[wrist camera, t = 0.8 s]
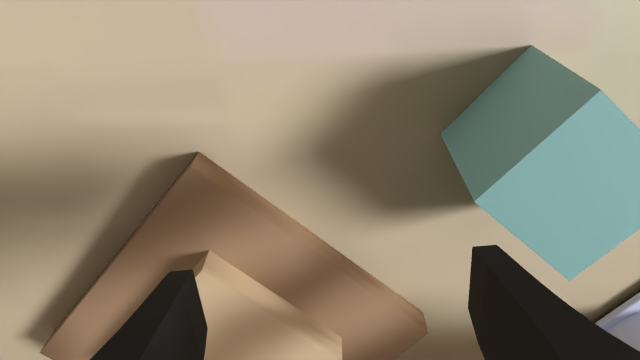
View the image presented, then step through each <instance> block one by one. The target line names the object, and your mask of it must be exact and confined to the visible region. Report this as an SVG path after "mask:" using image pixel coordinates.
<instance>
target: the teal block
mask: <svg viewBox="0 0 640 360" xmlns="http://www.w3.org/2000/svg"><path fill="white" fill-rule="evenodd" d="M440 135H441V137H442V139H443V141H444V143H445V145H446V147H447V149H448V151H449V153H450V155H451V157H452V159H453V161H454V163H455V165H456V167H457V168H458V170H459V172H460V174H461V176H462V178H463V180H464V182H465V184H466V186H467V188H468V190H469V192H470V194H471V196H472V198H473V200H474V202H475V203H476V204H478V205H479V206H480V207H481V208H482V209H484V210H485V211H486V212H487V213H488V214H490V215H491V216H492V217H493V218H494V219H496V220H497V221H498V222H499V223H500V224H502V225H503V226H504V227H505V228H506V229H508V230H509V231H510V232H511V233H512V234H514V235H515V236H516V237H517V238H518V239H520V240H521V241H522V242H523V243H524V244H526V245H527V246H528V247H529V248H530V249H532V250H533V251H534V252H535V253H536V254H538V255H539V256H540V257H541V258H542V259H544V260H545V261H546V262H547V263H548V264H550V265H551V266H552V267H553V268H554V269H556V270H557V271H558V272H559V273H560V274H562V275H563V276H564V277H565V278H566V279H568V280H569V281H570V280H571V279H573V278H574V277H575V276H577V275H578V274H579V273H581V272H582V271H583V270H585V269H586V268H588V267H589V266H590V265H592V264H593V263H594V262H596V261H597V260H598V259H600V258H601V257H602V256H604V255H605V254H606V253H608V252H609V251H610V250H612V249H613V248H614V247H616V246H617V245H619V244H620V243H621V242H623V241H624V240H625V239H627V238H628V237H629V236H631V235H632V234H633V233H635V232H636V231H637V230H639V229H640V129H639V128H638V127H637V126H636V125H635V124H634V123H633V122H632V121H631V120H630V119H629V118H628V117H627V116H626V115H625V114H624V113H623V112H622V111H621V110H620V109H619V108H618V107H617V106H616V105H615V104H614V103H613V102H612V101H611V100H610V99H609V98H608V96H607V95H606V94H605V93H604V92H603V91H602V90H600V89H599V88H597V87H596V86H594V85H593V84H591V83H590V82H588V81H586V80H585V79H583V78H582V77H580V76H579V75H577V74H576V73H574V72H572V71H571V70H569V69H568V68H566V67H565V66H563V65H562V64H560V63H558V62H557V61H555V60H554V59H552V58H551V57H549V56H548V55H546V54H544V53H543V52H541V51H540V50H538V49H537V48H535V47H534V46H532V45H531V46H530V47H529V48H528V49H527V50H526V51H525V52H524V53H523V54H522V55H521V56H520V57H518V58H517V59H516V60H515V61H514V62H513V63H512V64H511V65H510V66H509V67H508V68H507V69H506V70H505V71H504V72H503V73H502V74H501V75H500V76H499V77H498V78H497V79H496V80H495V81H494V82H493V83H492V84H491V85H490V86H489V87H488V88H487V89H486V90H485V91H484V92H483V93H482V94H480V95H479V96H478V97H477V98H476V99H475V100H474V101H473V102H472V103H471V104H470V105H469V106H468V107H467V108H466V109H465V110H464V111H463V112H462V113H461V114H460V115H459V116H458V117H457V118H456V119H455V120H454V121H453V122H452V123H451V124H450V125H449V126H448V127H447V128H446V129H445V130H444V131H443V132H441V133H440Z"/></svg>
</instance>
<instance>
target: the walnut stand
mask: <svg viewBox="0 0 640 360" xmlns="http://www.w3.org/2000/svg"><path fill="white" fill-rule="evenodd" d="M192 269H193V272H194V276H195V280H196V284H197V288H198V292H199V296H200V299H201V303H202V307H203V311H204V315H205V319H206V323H207V327H208V330H207V339H206V348H205V355H204V360H394V359H395V358H397V357H398V356H399V355H400V354H402V353H403V352H404V351H406V350H407V349H408V348H409V347H411V346H412V345H413V344H414V343H416V342H417V341H418V340H419V339H421V338H422V337H423V336H424V335H426V334H427V333H428V332H427V328H426V324H425V320H424V315H423V312H422V311H420V310H419V309H418V308H416V307H415V306H413V305H412V304H411V303H409V302H408V301H406V300H405V299H404V298H402V297H401V296H399V295H398V294H397V293H395V292H394V291H392V290H391V289H390V288H388V287H387V286H386V285H384V284H383V283H381V282H380V281H379V280H377V279H376V278H374V277H373V276H372V275H370V274H369V273H367V272H366V271H365V270H363V269H362V268H360V267H359V266H358V265H356V264H355V263H353V262H352V261H351V260H349V259H348V258H346V257H345V256H344V255H342V254H341V253H339V252H338V251H337V250H335V249H334V248H333V247H331V246H330V245H328V244H327V243H326V242H324V241H323V240H321V239H320V238H319V237H317V236H316V235H314V234H313V233H312V232H310V231H309V230H307V229H306V228H305V227H303V226H302V225H300V224H299V223H298V222H296V221H295V220H293V219H292V218H291V217H289V216H288V215H286V214H285V213H284V212H282V211H281V210H279V209H278V208H277V207H275V206H274V205H273V204H271V203H270V202H268V201H267V200H266V199H264V198H263V197H261V196H260V195H259V194H257V193H256V192H254V191H253V190H252V189H250V188H249V187H247V186H246V185H245V184H243V183H242V182H240V181H239V180H238V179H236V178H235V177H233V176H232V175H231V174H229V173H228V172H226V171H225V170H224V169H222V168H221V167H219V166H218V165H217V164H215V163H214V162H213V161H211V160H210V159H208V158H207V157H206V156H204V155H203V154H201V153H200V152H198V153H197V155H196V156H195V157H194V158H193V160H192V161H191V162H190V163H189V165H188V166H187V167H186V168H185V170H184V171H183V172H182V173H181V175H180V176H179V177H178V178H177V180H176V181H175V182H174V183H173V185H172V186H171V187H170V188H169V190H168V191H167V192H166V193H165V194H164V196H163V197H162V198H161V199H160V201H159V202H158V203H157V204H156V206H155V207H154V208H153V209H152V211H151V212H150V213H149V214H148V216H147V217H146V218H145V219H144V221H143V222H142V223H141V224H140V226H139V227H138V228H137V229H136V230H135V232H134V233H133V234H132V235H131V237H130V238H129V239H128V240H127V242H126V243H125V244H124V245H123V247H122V248H121V249H120V250H119V252H118V253H117V254H116V255H115V257H114V258H113V259H112V260H111V262H110V263H109V264H108V265H107V267H106V268H105V269H104V270H103V271H102V273H101V274H100V275H99V276H98V278H97V279H96V280H95V281H94V283H93V284H92V285H91V286H90V288H89V289H88V290H87V291H86V293H85V294H84V295H83V296H82V298H81V299H80V300H79V301H78V303H77V304H76V305H75V306H74V307H73V309H72V310H71V311H70V312H69V314H68V315H67V316H66V317H65V319H64V320H63V321H62V322H61V324H60V325H59V326H58V327H57V329H56V330H55V331H54V332H53V334H52V335H51V337H50V338H49V340H48V341H47V343H46V344H45V346H44V347H43V349H42V350H41V352H40V353H41V354H43V355H45V356H47V357H49V358H51V359H52V360H90V359H91V358H92V357H93V356H94V355H95V354H96V353H97V352H98V351H99V350H100V349H101V348H102V347H103V345H104V344H105V343H106V342H107V341H108V340H109V339H110V338H111V337H112V336H113V335H114V334H115V333H116V332H117V331H118V330H119V329H120V328H121V327H122V325H123V324H124V323H125V322H126V321H127V320H128V319H129V318H130V317H131V315H132V314H133V313H134V312H135V311H136V310H137V309H138V307H139V306H140V305H141V304H142V303H143V302H144V300H145V299H146V298H147V297H148V296H149V295H150V293H151V292H152V291H153V290H154V289H155V287H156V286H157V285H158V284H159V283H160V282H161V281H162V279H163V278H164V277H165V276H166V275H167V274H168V273H169V271H180V270H192Z"/></svg>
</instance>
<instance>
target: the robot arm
mask: <svg viewBox="0 0 640 360" xmlns="http://www.w3.org/2000/svg"><path fill="white" fill-rule="evenodd" d="M468 309H469V313H470V316H471V320H472V324H473V327H474V330H475V334H476V337H477V340H478V344H479V346H480V348H481V351H482V353H483V356H484V358H485V360H640V292H639V293H638V294H636V295H635V296H633V297H632V298H631V299H629V300H628V301H626V302H625V303H623V304H622V305H620V306H619V307H617V308H616V309H615V310H613V311H612V312H610V313H609V314H607V315H606V316H604V317H603V318H602V319H600V320H599V321H597V322H596V323H593V322H592V321H590V320H589V319H588V318H586V317H585V316H583V315H582V314H581V313H579V312H578V311H576V310H575V309H574V308H572V307H571V306H569V305H568V304H567V303H566V302H564V301H563V300H562V299H560V298H559V297H558V296H556V295H555V294H554V293H553V292H551V291H550V290H549V289H548V288H546V287H545V286H544V285H543V284H542V283H540V282H539V281H538V280H537V279H536V278H534V277H533V276H532V275H531V274H530V273H528V272H527V271H526V270H525V269H524V268H523V267H522V266H520V265H519V264H518V263H517V262H516V261H515V260H513V259H512V258H511V257H510V256H509V255H508V254H507V253H505V252H504V251H503V250H502V249H501V248H500V247H498V246H497V245H490V246H477V247H473V248H472V262H471V275H470V289H469V302H468ZM207 330H208V327H207V323H206V319H205V315H204V311H203V307H202V303H201V299H200V296H199V292H198V288H197V284H196V280H195V276H194V272H193V269H192V270H180V271H169V273H168V274H167V275H166V276H165V277H164V278H163V279H162V281H161V282H160V283H159V284H158V285H157V286H156V287H155V289H154V290H153V291H152V292H151V293H150V295H149V296H148V297H147V298H146V299H145V300H144V302H143V303H142V304H141V305H140V306H139V307H138V309H137V310H136V311H135V312H134V313H133V314H132V315H131V317H130V318H129V319H128V320H127V321H126V322H125V323H124V324H123V325H122V327H121V328H120V329H119V330H118V331H117V332H116V333H115V334H114V335H113V336H112V337H111V338H110V339H109V340H108V341H107V342H106V343H105V344H104V345H103V347H102V348H101V349H100V350H99V351H98V352H97V353H96V354H95V355H94V356H93V357H92V358H91V359H90V360H204V355H205V348H206V339H207Z"/></svg>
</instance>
